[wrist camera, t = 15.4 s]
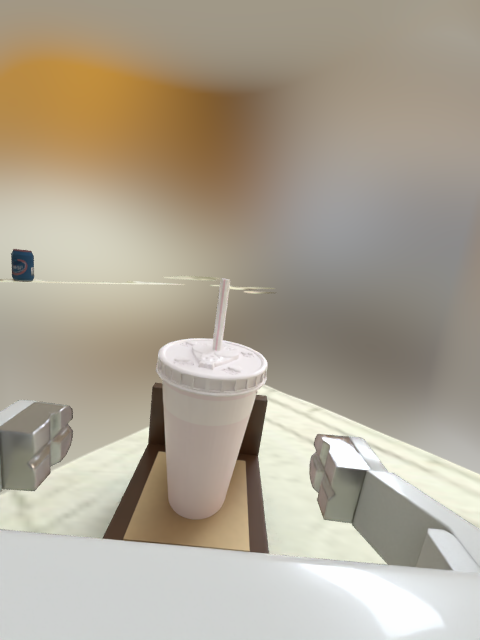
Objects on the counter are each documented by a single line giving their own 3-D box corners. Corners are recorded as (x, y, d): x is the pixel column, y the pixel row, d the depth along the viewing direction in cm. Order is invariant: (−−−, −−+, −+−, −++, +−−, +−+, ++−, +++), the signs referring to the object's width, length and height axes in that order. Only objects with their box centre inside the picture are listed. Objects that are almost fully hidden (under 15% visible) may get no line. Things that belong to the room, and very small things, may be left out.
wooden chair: (95, 607, 15) (100, 465, 13) (147, 478, 24) (155, 382, 22) (258, 621, 15) (286, 485, 13) (250, 488, 24) (266, 395, 22)
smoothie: (249, 468, 21) (280, 284, 18) (239, 555, 14) (284, 294, 11) (168, 451, 21) (185, 270, 18) (124, 528, 15) (140, 272, 12)
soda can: (8, 280, 106) (6, 248, 104) (18, 278, 113) (17, 249, 110) (28, 282, 108) (27, 251, 105) (37, 280, 114) (36, 251, 112)
